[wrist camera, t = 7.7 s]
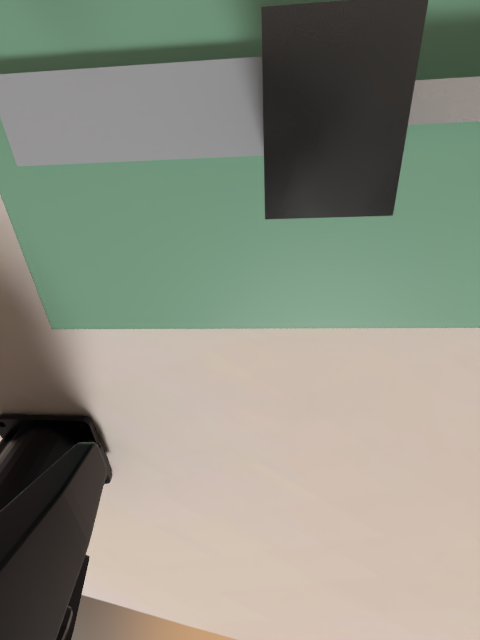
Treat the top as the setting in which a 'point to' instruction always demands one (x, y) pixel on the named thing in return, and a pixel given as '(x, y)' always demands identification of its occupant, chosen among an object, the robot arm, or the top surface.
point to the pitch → (215, 178)
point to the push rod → (347, 104)
